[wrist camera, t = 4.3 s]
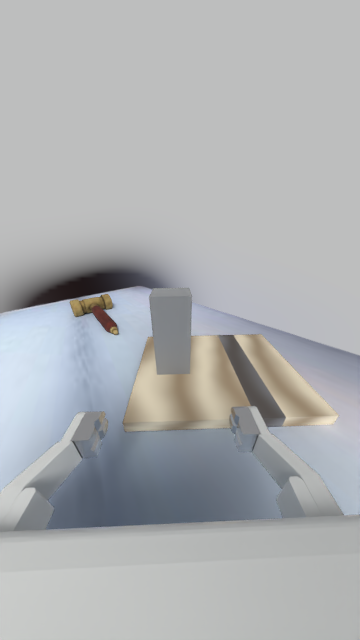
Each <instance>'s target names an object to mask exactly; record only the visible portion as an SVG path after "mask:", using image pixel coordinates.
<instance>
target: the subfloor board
mask: <svg viewBox="0 0 360 640" xmlns="http://www.w3.org/2000/svg"><path fill="white" fill-rule="evenodd" d="M240 406H256V407H257V409H258V411H259V413H260V414H261V416H262V418H263V420H264V422H265V424H266V426H267V427H276V426H305V425H333V424H334V422H335V421H336V420H337V418H338V417H339V415H338V414H337V413H336V412H335V411H334V410H333V409H332V408H331V407H330V406H329V404H328V403H327V402H326V401H325V400H324V399H323V398H322V397H321V396H320V395H319V394H318V393H317V392H316V391H315V390H314V389H313V388H312V387H311V386H310V385H309V384H308V383H307V382H306V381H305V379H304V378H303V377H302V376H301V375H300V374H299V373H298V372H297V371H296V370H295V369H294V368H293V367H292V366H291V365H290V364H289V363H288V362H287V361H286V360H285V359H284V358H283V357H282V355H281V354H280V353H279V352H278V351H277V350H276V349H275V348H274V347H273V346H272V345H271V344H270V343H269V342H268V341H267V340H266V339H265V338H264V337H263V336H262V335H261V334H258V335H214V336H191V352H190V374H167V375H157V370H156V360H155V350H154V340H153V337H148V339H147V342H146V346H145V349H144V352H143V356H142V359H141V363H140V366H139V369H138V373H137V376H136V379H135V383H134V386H133V389H132V393H131V396H130V399H129V403H128V406H127V410H126V413H125V416H124V420H123V426H124V430H125V432H130V431H159V430H188V429H218V428H231V427H230V422H229V416H230V414H231V408H232V407H240Z"/></svg>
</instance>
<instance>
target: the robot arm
mask: <svg viewBox="0 0 360 640" xmlns="http://www.w3.org/2000/svg"><path fill="white" fill-rule="evenodd" d="M229 422H230V427H231V431H232V432H233V433H234V434H235V438H234V441H235V444H236V447H237V450H238V452H252V453H253V454H254V456H255V457H256V458H257V459H258V461H259V462H260V463H261V464H262V466H263V467H264V468H265V469H266V470H267V472H268V473H269V474H270V475H271V477H272V478H273V479H274V480H275V481H276V483H277V484H278V485H279V486H280V488H281V489H282V490H281V491H280V493H279V494H278V496H277V499H276V501H277V504H278V506H279V509H280V512H281V514H282V517H283V518H277V519H256V520H235V521H214V522H193V523H173V524H152V525H131V526H110V527H89V528H68V529H47V530H46V528H47V525H48V523H49V521H50V519H51V516H52V514H53V512H54V507H53V506H52V505H51V504H50V502H49V501H48V500H49V499H50V498H51V496H52V495H53V494H54V493H55V492H56V490H57V489H58V488H59V487H60V486H61V485H62V483H63V482H64V481H65V480H66V479H67V477H68V476H69V475H70V474H71V473H72V471H73V470H74V469H75V468H76V467H77V466H78V464H79V463H80V462H81V461H82V459H84V458H97V457H98V454H99V451H100V449H101V446H102V442H101V440H102V439H103V438H104V437H105V435H106V432H107V428H108V420H107V419H106V418H105V412H104V411H100V412H78V413H77V414H76V416H75V417H74V419H73V421H72V422H71V424H70V426H69V428H68V429H67V431H66V433H65V434H64V436H63V438H62V439H61V441H60V442H57V443H56V444H55V445H53V446H52V447H51V448H50V449H49V450H48V451H46V452H45V453H44V454H43V455H42V456H41V457H39V458H38V459H37V460H36V461H35V462H34V463H32V464H31V465H30V466H29V467H28V468H27V469H25V470H24V471H23V472H22V473H21V474H20V475H18V476H17V477H16V478H15V479H14V480H13V481H11V482H10V483H9V484H8V485H7V486H6V487H4V489H3V490H2V492H1V493H0V640H360V515H344V514H343V513H342V511H341V509H340V508H339V506H338V505H337V503H336V501H335V500H334V498H333V497H332V495H331V493H330V492H329V490H328V489H327V487H326V485H325V484H324V482H323V481H322V479H321V477H320V476H319V474H317V473H316V472H315V471H314V470H313V469H312V468H311V467H310V466H308V465H307V464H306V463H305V462H304V461H303V460H302V459H301V458H299V457H298V456H297V455H296V454H295V453H294V452H293V451H292V450H290V449H289V448H288V447H287V446H286V445H285V444H284V443H283V442H281V441H280V440H279V439H278V438H277V437H276V436H275V435H273V434H270V432H269V430H268V428H267V426H266V424H265V422H264V420H263V418H262V416H261V414H260V413H259V411H258V409H257V407H256V406H240V407H232V408H231V414H230V416H229Z"/></svg>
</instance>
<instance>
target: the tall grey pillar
mask: <svg viewBox="0 0 360 640" xmlns="http://www.w3.org/2000/svg"><path fill="white" fill-rule="evenodd" d="M149 301H150V311H151V320H152V330H153V340H154V350H155V360H156V370H157V375H167V374H190V352H191V308H192V295H191V292H190V289H189V288H154V289H153V290H152V292H151V294H150V296H149Z"/></svg>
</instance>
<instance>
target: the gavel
mask: <svg viewBox="0 0 360 640" xmlns="http://www.w3.org/2000/svg"><path fill="white" fill-rule="evenodd" d="M70 305H71V308H72V311H73V313H74V316H75V317H78V316H82V315H83V314H84V313H91V312H92V313H93V314H94V315H95V317H96V318H97V319H98V321H99V322H100V323H101V324H102V326H103V327H104V328H105V330H106V331H107V332H110V333H112V334H115V335H116V334H118V329H117V324H116V323H115V322H114V321H113V320H112V319H111V318H110V317H109V316H108V315H107V313H106V312H105V311H104V310H103V309H106V310H107V309H111V308H112V306H113V305H112V300H111V298H110V296H109V295H108V294H105V295H101V297H94V298H89V299H84V300H82V301H79V300H72V301H70Z"/></svg>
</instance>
